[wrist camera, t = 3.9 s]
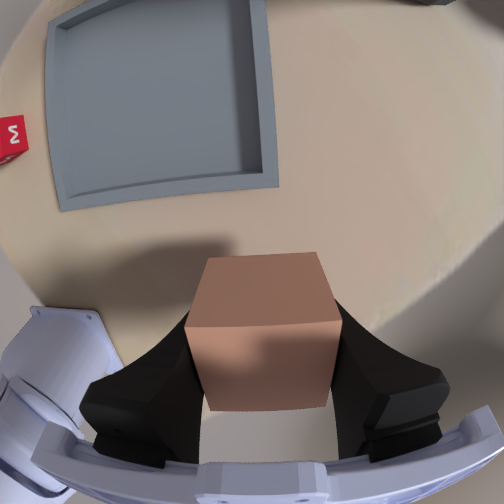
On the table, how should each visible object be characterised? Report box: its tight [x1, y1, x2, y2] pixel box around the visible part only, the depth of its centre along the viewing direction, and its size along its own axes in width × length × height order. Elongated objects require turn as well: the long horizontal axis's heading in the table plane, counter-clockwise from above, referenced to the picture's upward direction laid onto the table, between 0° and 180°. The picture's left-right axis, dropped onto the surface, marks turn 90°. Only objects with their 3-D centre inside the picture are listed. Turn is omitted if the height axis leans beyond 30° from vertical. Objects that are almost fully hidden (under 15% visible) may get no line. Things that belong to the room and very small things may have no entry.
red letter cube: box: [0, 115, 29, 165], centre depth 13 cm, size 3×3×3 cm
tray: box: [45, 0, 279, 212], centre depth 12 cm, size 14×14×2 cm
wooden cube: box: [184, 252, 342, 411], centre depth 12 cm, size 5×5×5 cm
